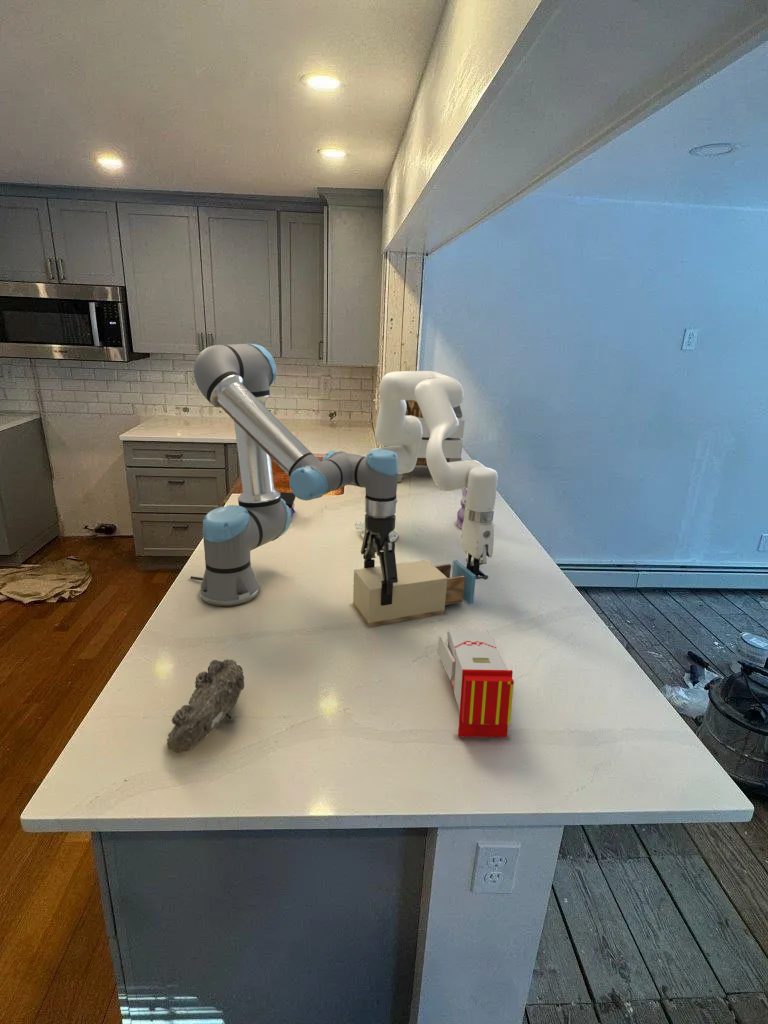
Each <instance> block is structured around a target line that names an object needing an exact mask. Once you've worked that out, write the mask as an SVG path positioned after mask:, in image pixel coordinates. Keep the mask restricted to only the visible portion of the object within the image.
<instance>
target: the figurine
mask: <svg viewBox="0 0 768 1024" xmlns="http://www.w3.org/2000/svg"><path fill="white" fill-rule="evenodd" d="M461 493H462V497H461V500H460V506H461V508H459V509H458V510H457V513H456V517H457V518H456V522H455V523H456V526H458V528H459V529H461V530H462V525H463V521H464V515H465V505H466V495H467V488H465V489H461Z"/></svg>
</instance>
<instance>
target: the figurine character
mask: <svg viewBox="0 0 768 1024" xmlns="http://www.w3.org/2000/svg"><path fill="white" fill-rule="evenodd" d="M279 493H280V496H281V499H283V500H284V501H285V502H286V505H287V506H288V507H289V509H290V513H291V518H292V517H293V515H294V514H295V513H296V510H295V500H296V498H297V497H296V496H295V495H294V494H293V493H292V492H279Z"/></svg>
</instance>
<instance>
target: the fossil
mask: <svg viewBox="0 0 768 1024" xmlns="http://www.w3.org/2000/svg"><path fill="white" fill-rule="evenodd" d="M243 670H244V669H243V667H242V665H240V664H237V662H236V661H235V660H234V659H232V658H231V659H227V658H226V659H224V660H223V661H222V660H217V659H212V660H211V661H210V663H209V665H208V666H207V671H201V672H199V673H198V674H197V675H196V676H195V680H194V684H195V685H194V687H195V689H194V690H193V693H192V694H191V697H190V698H189V700H188V704H184V705H182V706H181V707H180V709H177V710H176V711H175V713H174V715H173V716H172V718H171V723H172V724H173V727H172V730H171V731H170V732H168V734H167V738H166V741H167V742H166V745H167V749H168V750H169V751H173V752H174V753H176V754H178V753H182V752H188V751H189V752H192V751H193V750H195V748H196V747H197V746H199V744H200V743H201V742H203V741H204V740H205V739H206V738H207V737H208V736H209V735H210V734H211V733H212V732H214V730H215V729H217V727H218V726H219V724H220V722H221V721H222V720H223V719H224V718H225V716H226V717H227V719H229V720H233V717H232V715H230V714H229V710H230V709H231V708H234V706H235V704H236V703H237V702H238V699H239V697H240V695H241V693H242V691H243V690H245V689H244V688H245V675H244V671H243Z"/></svg>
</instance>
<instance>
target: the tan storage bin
mask: <svg viewBox="0 0 768 1024" xmlns="http://www.w3.org/2000/svg"><path fill="white" fill-rule="evenodd" d="M435 566H436V565H434V564H433V563H432V562H431V561H430V560H428V559H423V560H416V561H408V562H402V563H396V568H397V578H398V582H396V583H393V594H392V604H390V605H384V606H382V605H381V587H382V583H381V581H383V575H382V569H381V565H379V566H375V567H371V568H364V567H363V568H356V569H354V570H353V590H352V592H353V593H352V595H353V596H352V606H353V608H355V610H356V611H357V613H358V614H359V616H360V618H361V619H362V620H363V621H364V623H365V625H366V626H367V627H376V626H381V625H385V624H392V623H399V622H404V621H409V620H415V619H420V618H421V619H422V618H426V617H431V616H437V615H442V614H443V615H444V614H445V609H446V608H445V607H446V605H445V599H446V588H447V577H446V576H445V575H444V574H442V573H441V572H440V571H439V570H438V569H437V568H436V567H435Z"/></svg>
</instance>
